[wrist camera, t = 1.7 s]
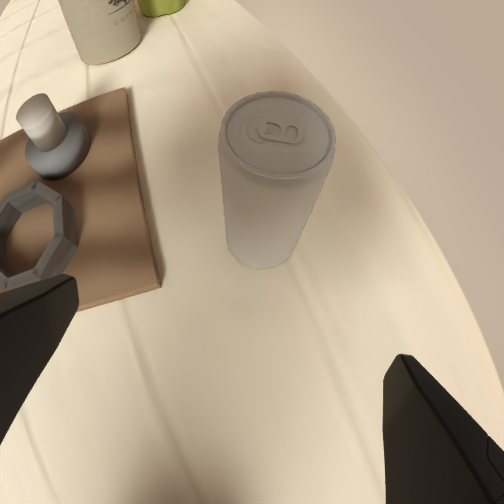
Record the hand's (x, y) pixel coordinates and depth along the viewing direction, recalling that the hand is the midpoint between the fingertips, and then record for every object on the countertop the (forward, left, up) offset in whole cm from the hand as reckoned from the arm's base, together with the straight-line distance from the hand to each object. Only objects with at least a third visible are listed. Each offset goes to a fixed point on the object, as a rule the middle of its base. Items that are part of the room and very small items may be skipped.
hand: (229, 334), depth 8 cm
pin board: (-5, +19, -13) cm, 24 cm away
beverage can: (+6, +5, -14) cm, 16 cm away
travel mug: (+9, +36, -14) cm, 39 cm away
